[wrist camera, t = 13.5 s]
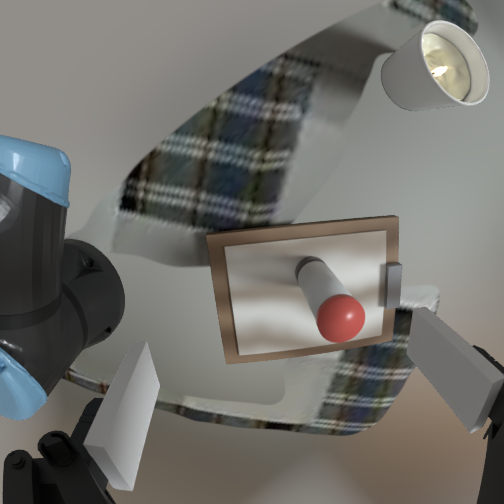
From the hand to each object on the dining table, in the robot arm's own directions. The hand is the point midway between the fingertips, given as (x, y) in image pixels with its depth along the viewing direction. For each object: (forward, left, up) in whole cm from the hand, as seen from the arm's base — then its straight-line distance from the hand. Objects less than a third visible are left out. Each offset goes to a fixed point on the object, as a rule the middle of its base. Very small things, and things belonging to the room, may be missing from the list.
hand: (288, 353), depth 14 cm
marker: (+5, +6, -23) cm, 24 cm away
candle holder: (-19, +22, -25) cm, 38 cm away
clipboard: (+8, +6, -25) cm, 27 cm away
